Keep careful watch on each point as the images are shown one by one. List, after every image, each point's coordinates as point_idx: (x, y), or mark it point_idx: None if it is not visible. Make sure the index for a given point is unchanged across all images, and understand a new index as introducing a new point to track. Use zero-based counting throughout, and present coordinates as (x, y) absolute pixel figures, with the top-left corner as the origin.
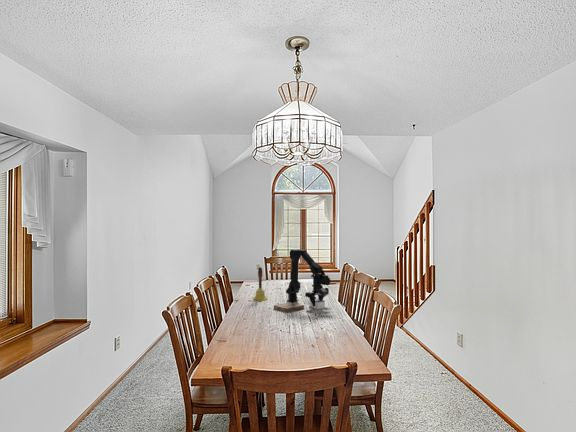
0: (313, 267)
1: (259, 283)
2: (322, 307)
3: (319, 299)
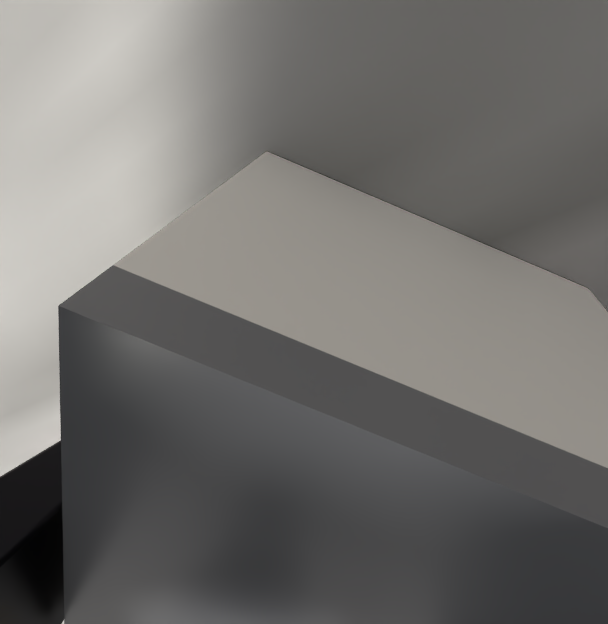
0: None
1: None
2: (386, 210)
3: (92, 612)
